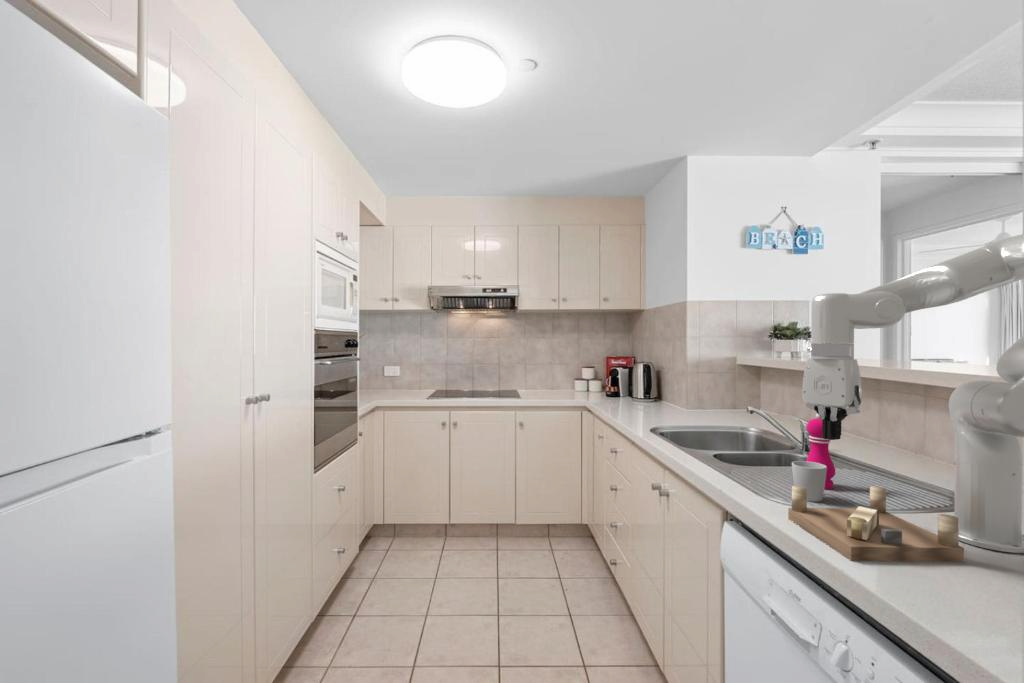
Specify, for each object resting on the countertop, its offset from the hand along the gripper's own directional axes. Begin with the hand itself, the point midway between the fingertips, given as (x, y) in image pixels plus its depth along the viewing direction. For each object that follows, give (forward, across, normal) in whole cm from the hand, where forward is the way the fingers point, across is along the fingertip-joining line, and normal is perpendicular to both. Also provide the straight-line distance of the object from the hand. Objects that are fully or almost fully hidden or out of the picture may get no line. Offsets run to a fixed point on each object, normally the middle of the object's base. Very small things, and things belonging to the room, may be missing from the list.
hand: (831, 438), depth 100 cm
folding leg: (+16, +8, -2) cm, 18 cm away
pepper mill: (+19, -21, +26) cm, 39 cm away
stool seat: (+19, +6, +2) cm, 20 cm away
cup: (+19, -16, +15) cm, 29 cm away
